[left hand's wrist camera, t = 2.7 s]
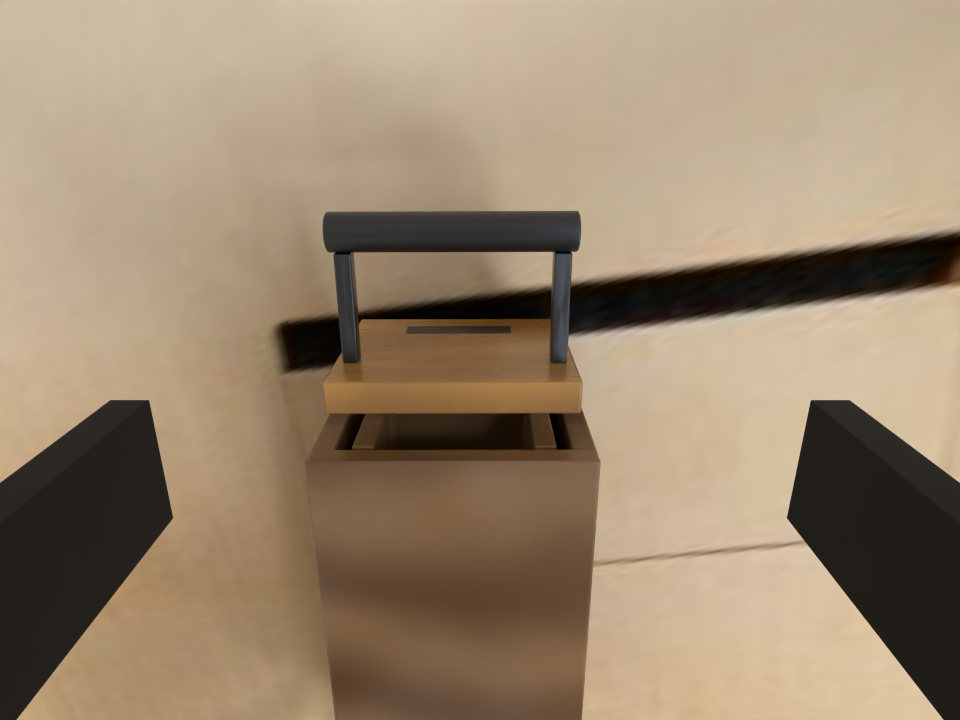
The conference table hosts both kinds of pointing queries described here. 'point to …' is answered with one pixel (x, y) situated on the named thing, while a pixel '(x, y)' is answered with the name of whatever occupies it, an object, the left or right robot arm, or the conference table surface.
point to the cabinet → (455, 575)
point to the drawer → (453, 340)
